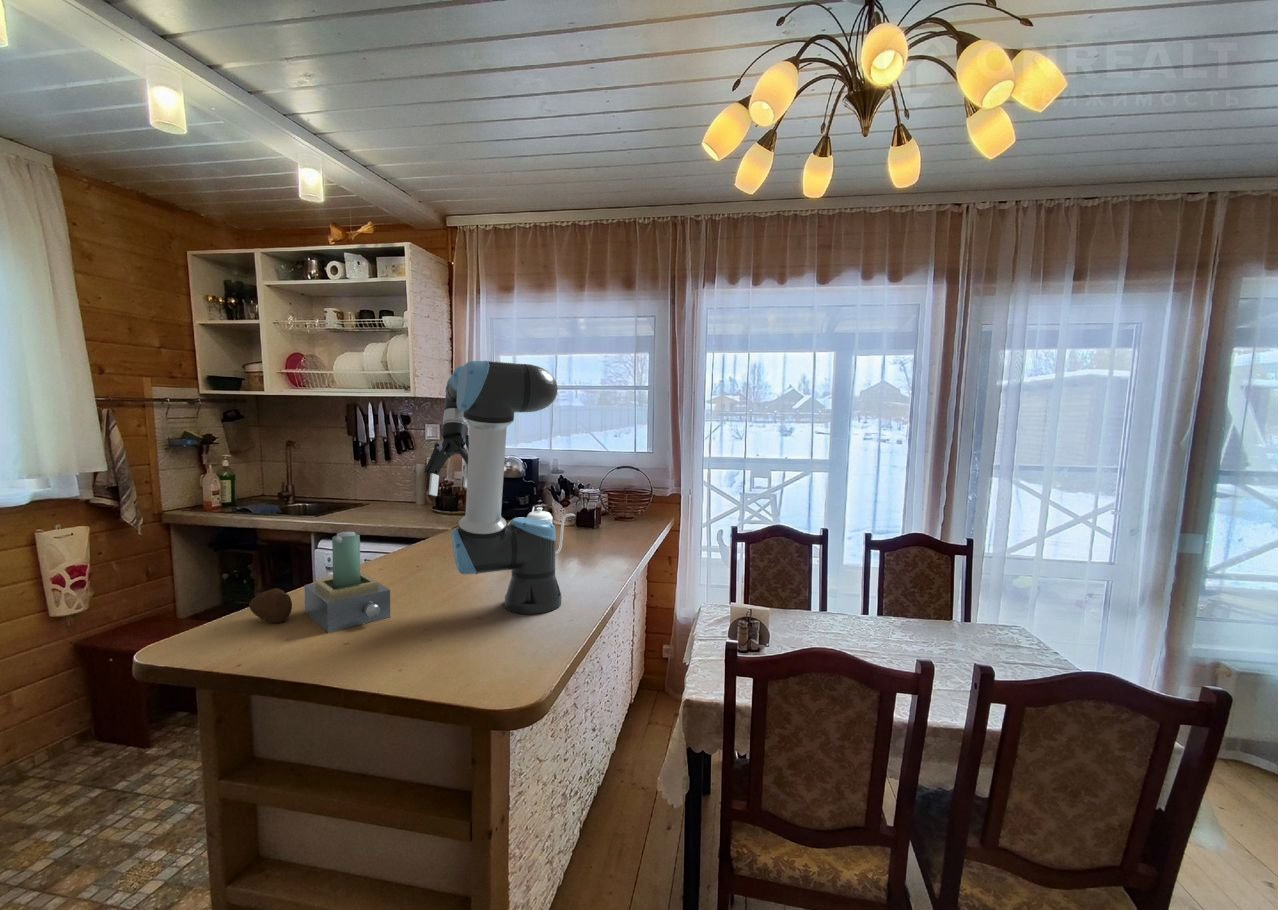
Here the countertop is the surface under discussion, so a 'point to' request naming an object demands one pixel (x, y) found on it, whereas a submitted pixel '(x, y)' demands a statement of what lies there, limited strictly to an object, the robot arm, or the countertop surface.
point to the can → (346, 559)
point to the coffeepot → (548, 517)
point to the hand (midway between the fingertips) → (449, 491)
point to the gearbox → (346, 603)
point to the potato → (272, 605)
